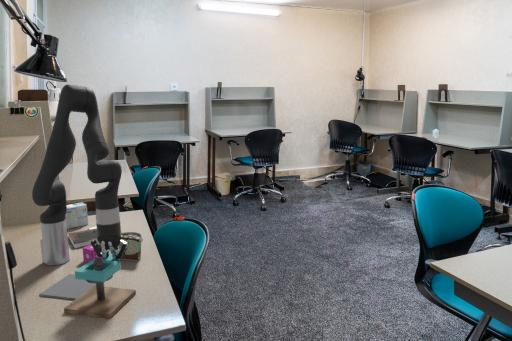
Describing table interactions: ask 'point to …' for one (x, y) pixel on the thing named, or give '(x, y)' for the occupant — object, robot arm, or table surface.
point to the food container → (132, 246)
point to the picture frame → (83, 237)
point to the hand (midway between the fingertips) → (111, 268)
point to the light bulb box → (76, 215)
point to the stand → (100, 298)
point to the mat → (68, 288)
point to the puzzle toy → (89, 254)
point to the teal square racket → (91, 274)
